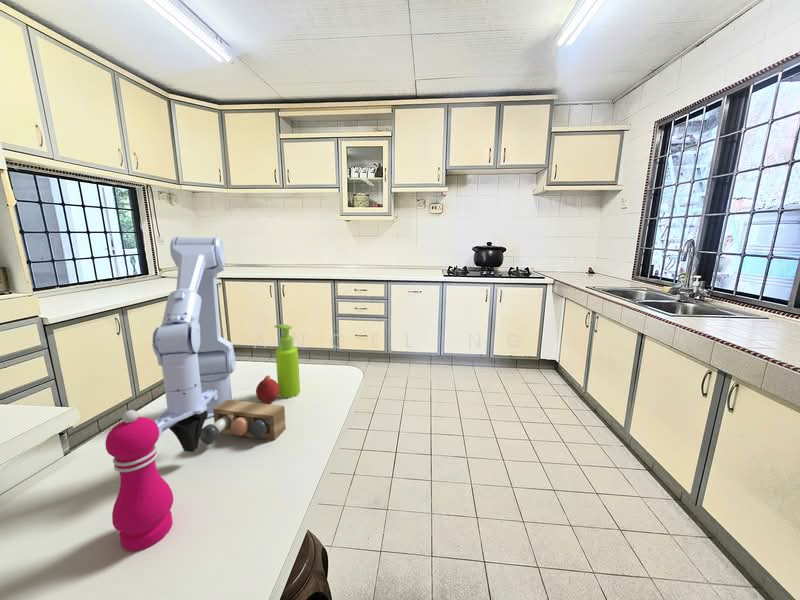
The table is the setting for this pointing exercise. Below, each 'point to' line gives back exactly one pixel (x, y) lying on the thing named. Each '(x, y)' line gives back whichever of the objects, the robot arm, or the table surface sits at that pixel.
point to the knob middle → (241, 425)
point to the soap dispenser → (287, 364)
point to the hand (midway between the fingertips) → (190, 449)
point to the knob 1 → (214, 430)
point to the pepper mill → (139, 483)
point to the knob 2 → (259, 427)
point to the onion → (267, 390)
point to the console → (252, 416)
